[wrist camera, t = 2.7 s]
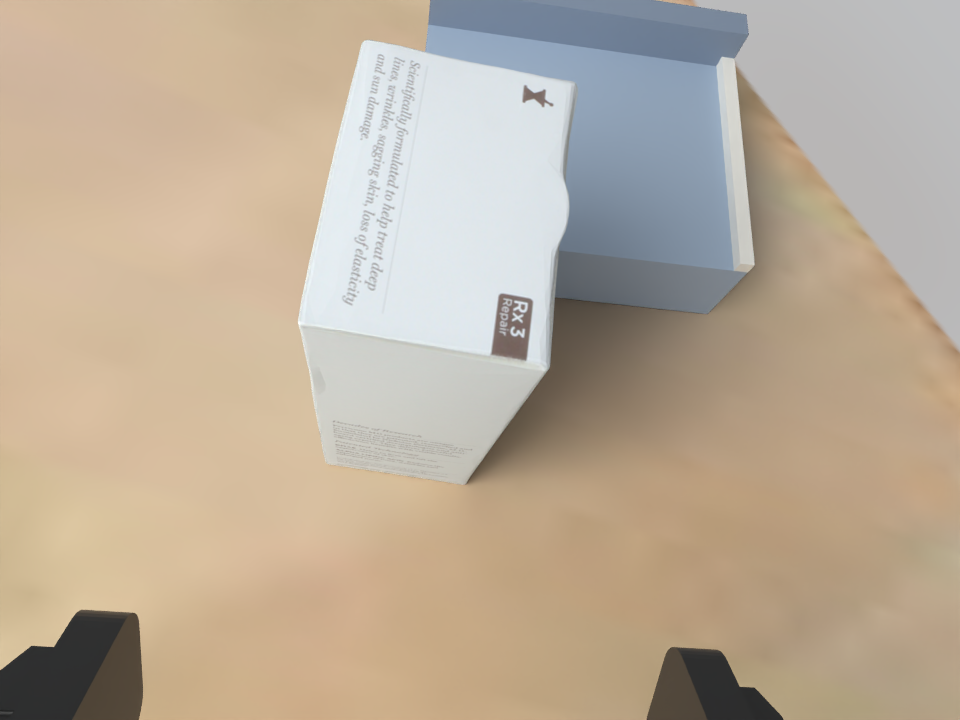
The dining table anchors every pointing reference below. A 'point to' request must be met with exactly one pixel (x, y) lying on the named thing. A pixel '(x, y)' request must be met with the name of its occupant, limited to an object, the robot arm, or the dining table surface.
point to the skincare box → (435, 260)
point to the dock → (632, 138)
